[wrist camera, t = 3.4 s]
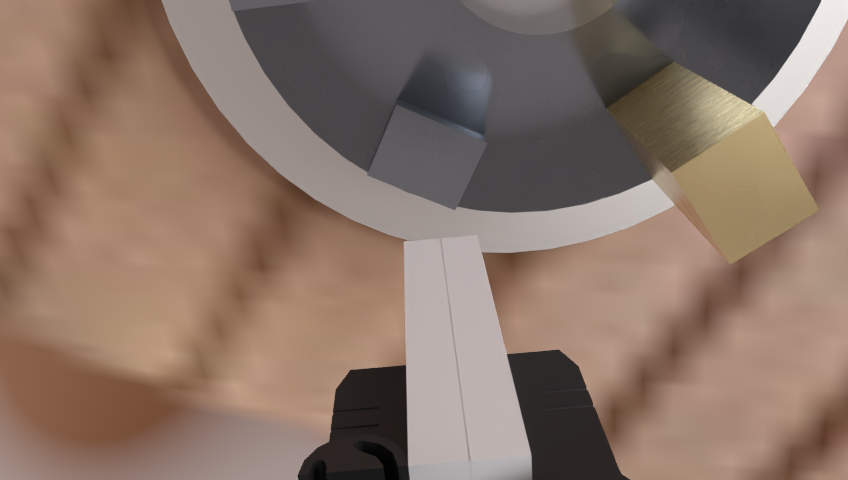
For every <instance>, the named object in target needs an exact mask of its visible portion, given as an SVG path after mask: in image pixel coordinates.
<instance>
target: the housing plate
mask: <svg viewBox="0 0 848 480" xmlns="http://www.w3.org/2000/svg"><path fill="white" fill-rule="evenodd" d="M162 3H163V6H164V9H165V11H166V14H167V17H168V20H169V23H170V25H171V27H172V29H173V31H174V33H175V35H176V37H177V39H178V41H179V43H180V45H181V47H182V49H183V51H184V53H185V55H186V57H187V60H188V62H189V64H190V66H191V68H192V70H193V71H194V73H195V74H196V76H197V77H198V79H199V80H200V82H201V83H202V85H203V86H204V88H205V89H206V91H207V92H208V94H209V95H210V97H211V98H212V100H213V101H214V103H215V105H216V106H217V108H218V109H219V110H220V111H221V113H222V114H223V115H224V116H225V117H226V119H227V120H228V121H229V122H230V123H231V125H232V126H233V127H234V128H235V129H236V130H237V132H238V133H239V134H240V135H241V136H242V138H243V139H244V140H245V141H246V142H247V143H248V145H250V146H251V147H252V148H253V149H254V150H255V151H256V152H257V153H258V154H259V155H260V156H261V157H262V158H263V159H265V160H266V161H267V162H268V163H269V164H270V165H271V166H272V167H273V168H274V169H275V170H276V171H277V172H278V173H280V174H281V175H282V176H283V177H285V178H286V179H288V180H289V181H290V182H292V183H293V184H294V185H296V186H297V187H299V188H300V189H301V190H303V191H304V192H305V193H307V194H308V195H310V196H311V197H312V198H314V199H315V200H317V201H319V202H320V203H322V204H324V205H326V206H328V207H329V208H331V209H333V210H335V211H337V212H338V213H340V214H342V215H344V216H346V217H347V218H349V219H351V220H353V221H356V222H358V223H361V224H363V225H366V226H368V227H370V228H373V229H375V230H378V231H380V232H383V233H385V234H388V235H390V236H394V237H398V238H401V239H405V240H409V241H416V240H427V239H438V238H450V237H461V236H472V235H477V236H478V240H479V244H480V248H481V252H495V253H513V252H524V251H534V250H545V249H553V248H557V247H562V246H567V245H571V244H576V243H580V242H585V241H590V240H593V239H596V238H599V237H602V236H605V235H608V234H611V233H614V232H617V231H620V230H622V229H625V228H628V227H631V226H633V225H635V224H637V223H639V222H642V221H644V220H646V219H648V218H650V217H652V216H654V215H656V214H659V213H661V212H663V211H665V210H667V209H669V208H671V207H672V206H674V205H675V204H674V203H673V202H672V201H671V200H670V199H669V198H668V197H667V195H666V194H665V193H664V192H663V191H662V190H661V189H660V188H659V187H658V186H657V185H656V183H655V182H654V181H653V180H650V181H647V182H645V183H643V184H640V185H638V186H636V187H633V188H631V189H629V190H627V191H624V192H622V193H620V194H617V195H613V196H610V197H607V198H603V199H600V200H597V201H594V202H590V203H587V204H584V205H578V206H572V207H567V208H561V209H555V210H550V211H536V212H518V213H508V212H493V211H478V210H472V209H467V208H462V207H457V208H456V210H453V209H450V208H448V207H445V206H443V205H440V204H438V203H435V202H432V201H430V200H427V199H425V198H422V197H420V196H417V195H414V194H410V193H408V192H405V191H403V190H401V189H399V188H397V187H395V186H392V185H390V184H387V183H385V182H382V181H380V180H377V179H374V178H372V177H369V176H367V172H366V171H364V170H363V169H361V168H360V167H358V166H357V165H355V164H353V163H352V162H350V161H349V160H347V159H346V158H344V157H343V156H341V155H340V154H339V153H338V152H337V151H335V150H334V149H333V148H332V147H331V146H329V145H328V144H327V143H326V142H325V141H323V140H322V139H321V138H320V137H318V136H317V135H316V134H315V133H314V132H313V131H312V130H311V129H310V128H309V127H308V126H307V125H306V124H305V123H304V122H303V120H302V119H301V118H300V117H299V116H298V115H297V114H296V113H295V112H294V111H293V110H292V109H291V108H290V107H289V106H288V104H287V103H286V102H285V100H284V99H283V98H282V96H281V95H280V94H279V92H278V91H277V90H276V88H275V87H274V85H273V84H272V83H271V81H270V80H269V79H268V77H267V76H266V75H265V73H264V72H263V70H262V68H261V66H260V64H259V63H258V61H257V59H256V57H255V56H254V54H253V52H252V50H251V48H250V47H249V45H248V43H247V41H246V40H245V38H244V36H243V33H242V31H241V28H240V26H239V24H238V21H237V19H236V16H235V14H234V12H233V11H232V10H231V6H230V2H229V0H162ZM847 19H848V0H821V3H820V5H819V7H818V9H817V11H816V12H815V14H814V16H813V18H812V20H811V22H810V23H809V25H808V27H807V29H806V31H805V33H804V34H803V36H802V38H801V40H800V42H799V44H798V45H797V46H796V48H795V49H794V51H793V52H792V54H791V55H790V56H789V58H788V59H787V61H786V62H785V64H784V65H783V66H782V68H781V69H780V71H779V72H778V74H777V75H776V77H775V78H774V79H773V80H772V81H771V83H770V84H769V85H768V86H767V87H766V88H765V90H764V91H763V92H762V93H761V94H760V95H759V96H758V98H757V99H756V100H755V101H754V102H753V103H752V104H751V105H753V106H754V107H756V108H758V109H760V110H762V111H763V112H765V114H766V116H767V118H768V119H769V121H770V123H771V125H772V126H773V127H774V126H775V125H776V124H777V123H778V121H779V120H780V119H781V118H782V117H783V115H784V114H785V113H786V112H787V111H788V109H789V108H790V107H791V106H792V105H793V103H794V102H795V101H796V100H797V99H798V97H799V96H800V95H801V94H802V93H803V91H804V90H805V89H806V87H807V86H808V84H809V83H810V81H811V80H812V78H813V77H814V75H815V74H816V72H817V71H818V69H819V68H820V66H821V65H822V63H823V62H824V60H825V59H826V57H827V56H828V54H829V53H830V51H831V50H832V48H833V46H834V44H835V42H836V40H837V38H838V37H839V35H840V33H841V31H842V29H843V27H844V25H845V23H846V21H847Z"/></svg>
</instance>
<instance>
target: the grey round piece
mask: <svg viewBox="0 0 848 480" xmlns="http://www.w3.org/2000/svg"><path fill="white" fill-rule="evenodd" d="M229 2H230V6H231V10H232V11H233V12H234V14H235V16H236V19H237V21H238V24H239V26H240V28H241V31H242V33H243V36H244V38H245V40H246V41H247V43H248V45H249V47H250V48H251V50H252V52H253V54H254V56H255V57H256V59H257V61H258V63H259V64H260V66H261V68H262V70H263V72H264V73H265V75H266V76H267V77H268V79H269V80H270V81H271V83H272V84H273V85H274V87H275V88H276V90H277V91H278V92H279V94H280V95H281V96H282V98H283V99H284V100H285V102H286V103H287V104H288V106H289V107H290V108H291V109H292V110H293V111H294V112H295V113H296V114H297V115H298V116H299V117H300V118H301V119H302V120H303V122H304V123H305V124H306V125H307V126H308V127H309V128H310V129H311V130H312V131H313V132H314V133H315V134H316V135H317V136H318V137H320V138H321V139H322V140H323V141H325V142H326V143H327V144H328V145H329V146H331V147H332V148H333V149H334V150H335V151H337V152H338V153H339V154H340V155H341V156H343V157H344V158H346V159H347V160H349V161H350V162H352V163H353V164H355V165H357V166H358V167H360V168H361V169H363V170H364V171H366V172H367V176H369V177H372V178H374V179H377V180H380V181H382V182H385V183H387V184H390V185H392V186H395V187H397V188H399V189H401V190H403V191H405V192H408V193H410V194H414V195H417V196H420V197H422V198H425V199H427V200H430V201H432V202H435V203H438V204H440V205H443V206H445V207H448V208H450V209H453V210H456V208H457V207H462V208H467V209H472V210H478V211H493V212H508V213H518V212H536V211H550V210H555V209H561V208H567V207H572V206H578V205H584V204H587V203H590V202H594V201H597V200H600V199H603V198H607V197H610V196H613V195H617V194H620V193H622V192H624V191H627V190H629V189H631V188H633V187H636V186H638V185H640V184H643V183H645V182H647V181H650V180H653V181H654V182H655V183H656V185H657V186H658V187H659V188H660V189H661V190H662V191H663V192H664V193H665V194H666V195H667V197H668V198H669V199H670V200H671V201H672V202H673V203H674V204H675V205H676V206H677V207H678V209H679V210H680V211H681V212H682V213H683V214H684V215H685V216H686V217H687V218H688V219H689V221H690V222H691V223H692V224H693V225H694V226H695V227H696V228H697V229H698V230H699V231H700V232H701V234H702V235H703V236H704V237H705V238H706V239H707V240H708V241H709V242H710V243H711V244H712V246H713V247H714V248H715V249H716V250H717V251H718V252H719V253H720V254H721V255H722V256H723V258H724V259H725V260H726V261H727V262H728V263H729V264H732V263H734V262H735V261H737V260H739V259H740V258H742V257H744V256H745V255H747V254H748V253H750V252H752V251H753V250H755V249H757V248H758V247H760V246H762V245H763V244H765V243H767V242H768V241H770V240H771V239H773V238H775V237H776V236H778V235H780V234H781V233H783V232H785V231H786V230H788V229H790V228H791V227H793V226H794V225H796V224H798V223H799V222H801V221H803V220H804V219H806V218H808V217H809V216H811V215H813V214H814V213H816V212H818V211H819V208H818V207H817V205H816V203H815V201H814V200H813V198H812V196H811V194H810V192H809V191H808V189H807V187H806V185H805V183H804V182H803V180H802V178H801V176H800V175H799V173H798V171H797V169H796V167H795V166H794V164H793V162H792V160H791V159H790V157H789V155H788V153H787V151H786V150H785V148H784V146H783V144H782V142H781V141H780V139H779V137H778V135H777V134H776V132H775V130H774V128H773V126H772V125H771V123H770V121H769V119H768V118H767V116H766V114H765V112H763V111H762V110H760V109H758V108H756V107H754V106H753V105H751V104H752V103H753V102H754V101H755V100H756V99H757V98H758V96H759V95H760V94H761V93H762V92H763V91H764V90H765V88H766V87H767V86H768V85H769V84H770V83H771V81H772V80H773V79H774V78H775V77H776V75H777V74H778V72H779V71H780V69H781V68H782V66H783V65H784V64H785V62H786V61H787V59H788V58H789V56H790V55H791V54H792V52H793V51H794V49H795V48H796V46H797V45H798V44H799V42H800V40H801V38H802V36H803V34H804V33H805V31H806V29H807V27H808V25H809V23H810V22H811V20H812V18H813V16H814V14H815V12H816V11H817V9H818V7H819V5H820V3H821V0H229Z"/></svg>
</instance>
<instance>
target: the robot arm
mask: <svg viewBox="0 0 848 480" xmlns="http://www.w3.org/2000/svg"><path fill="white" fill-rule="evenodd" d="M404 287H405V335H406V365H403V366H392V367H381V368H369V369H358V370H350V371H349V373H348V374H347V375H346V377H345V378H344V379H343V381H342V382H341V383H340V385H339V386H338V387H337V389H336V393H335V400H334V408H333V416H332V424H331V433H330V440H329V442H328V443H326V444H324V445H322V446H320V447H318V448H317V449H316V450H315V451H314V452H313V453H312V454H311V455H310V456H309V457H307V458H306V459H305V460H304V463H303V465H302V467H301V469H300V471H299V474H298V479H299V480H630V479H628V478H627V477H625V476H624V475H622V474H621V472H620V470H619V468H618V466H617V463H616V460H615V458H614V455H613V453H612V450H611V448H610V445H609V443H608V440H607V438H606V435H605V433H604V430H603V428H602V425H601V423H600V420H599V417H598V415H597V412H596V410H595V407H594V408H593V402H592V400H591V397H590V395H589V392H588V390H587V389H586V385H585V382H584V380H583V377H582V374H581V372H580V369H579V367H578V366H577V365H576V364H575V363H574V362H573V361H572V360H570V359H569V358H568V357H567V356H566V355H565V354H563V353H562V352H561V351H560V350H550V351H539V352H528V353H516V354H506V350H505V345H504V341H503V337H502V333H501V329H500V325H499V321H498V317H497V313H496V309H495V305H494V301H493V297H492V293H491V289H490V284H489V280H488V276H487V272H486V268H485V264H484V260H483V256H482V252H481V248H480V244H479V240H478V236H477V235H472V236H461V237H450V238H438V239H427V240H416V241H404Z"/></svg>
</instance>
